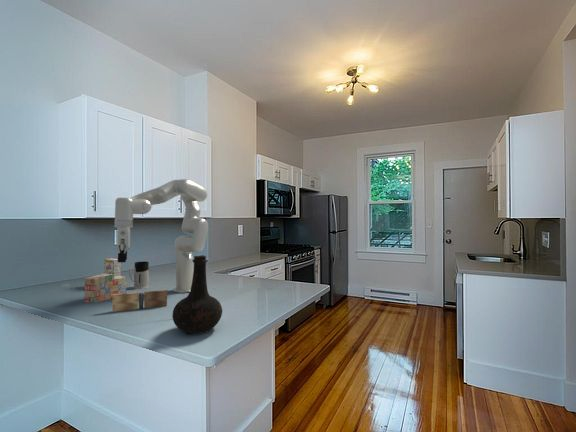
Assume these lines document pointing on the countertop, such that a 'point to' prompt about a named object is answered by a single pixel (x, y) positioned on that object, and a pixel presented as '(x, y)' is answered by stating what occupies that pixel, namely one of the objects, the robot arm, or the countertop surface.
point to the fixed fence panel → (153, 299)
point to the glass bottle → (197, 303)
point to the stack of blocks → (103, 287)
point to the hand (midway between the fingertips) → (122, 261)
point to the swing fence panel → (125, 301)
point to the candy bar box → (112, 267)
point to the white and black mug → (140, 275)
